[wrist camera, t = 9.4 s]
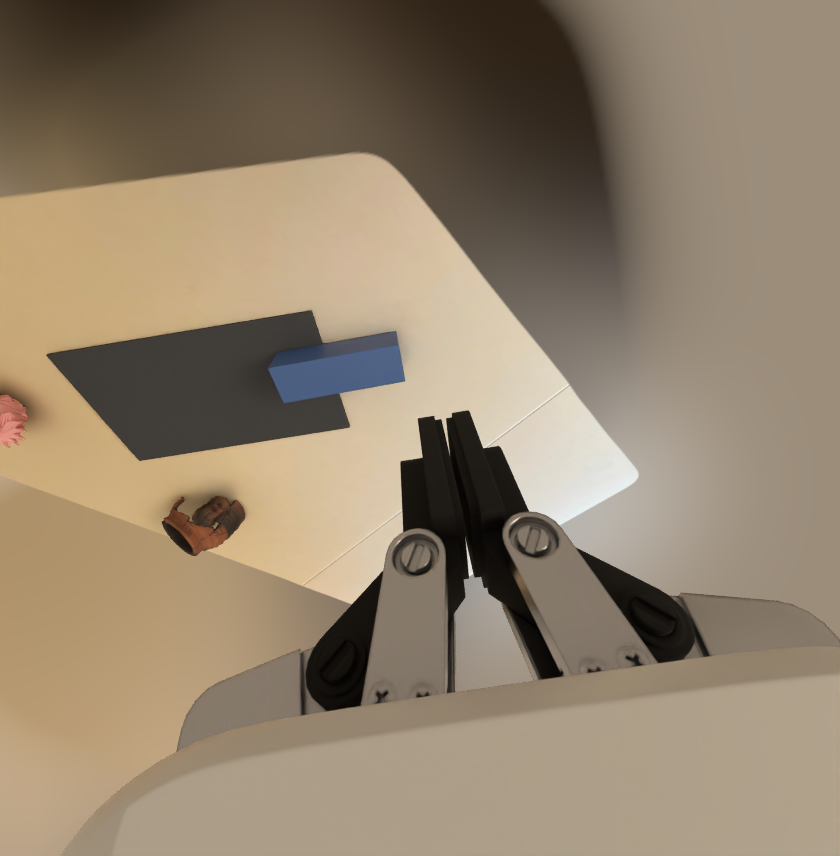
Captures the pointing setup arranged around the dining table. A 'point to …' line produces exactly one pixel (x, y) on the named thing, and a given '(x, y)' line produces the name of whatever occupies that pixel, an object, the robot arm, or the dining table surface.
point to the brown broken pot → (204, 525)
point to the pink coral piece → (11, 420)
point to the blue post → (337, 367)
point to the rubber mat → (200, 387)
